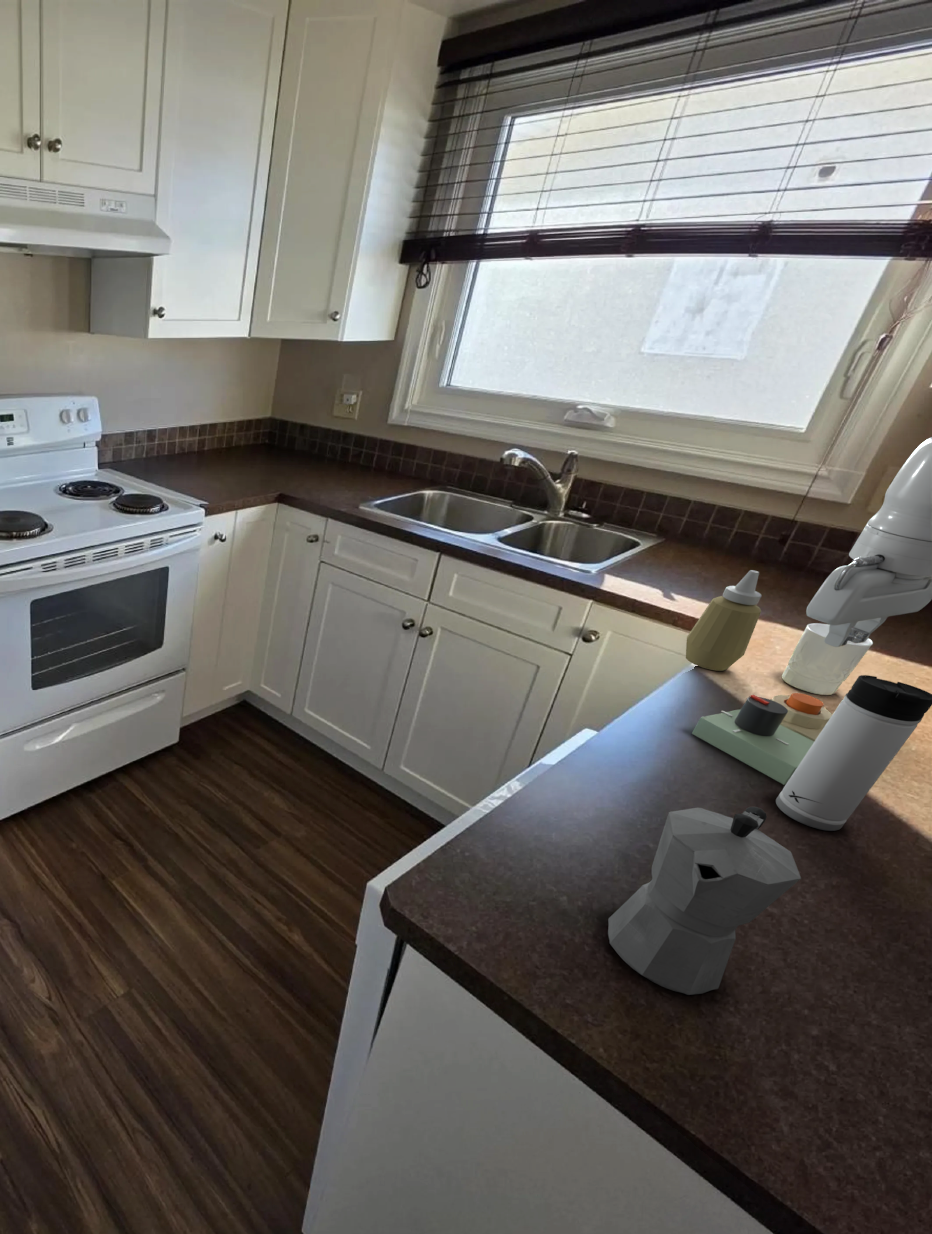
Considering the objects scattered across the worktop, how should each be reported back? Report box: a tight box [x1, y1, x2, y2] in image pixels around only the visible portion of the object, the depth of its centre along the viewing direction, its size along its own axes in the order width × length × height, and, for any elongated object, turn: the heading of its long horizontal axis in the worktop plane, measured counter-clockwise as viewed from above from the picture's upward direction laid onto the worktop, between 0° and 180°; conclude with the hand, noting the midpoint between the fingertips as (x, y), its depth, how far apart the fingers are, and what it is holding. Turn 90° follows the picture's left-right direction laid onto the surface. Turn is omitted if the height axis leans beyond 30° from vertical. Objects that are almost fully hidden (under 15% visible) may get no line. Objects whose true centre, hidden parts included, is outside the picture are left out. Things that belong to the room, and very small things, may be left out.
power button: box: [786, 692, 825, 715], centre depth 102 cm, size 4×4×2 cm
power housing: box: [769, 694, 833, 742], centre depth 102 cm, size 11×9×4 cm
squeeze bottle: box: [685, 569, 762, 672], centre depth 117 cm, size 8×8×18 cm
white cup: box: [781, 622, 874, 696], centre depth 114 cm, size 8×8×10 cm
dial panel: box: [691, 708, 814, 786], centre depth 97 cm, size 12×10×3 cm
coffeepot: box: [607, 806, 802, 996], centre depth 64 cm, size 15×9×18 cm, turn 125°
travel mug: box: [775, 674, 932, 832], centre depth 82 cm, size 6×7×20 cm
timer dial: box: [734, 694, 788, 736], centre depth 97 cm, size 4×4×4 cm
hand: (843, 642), depth 97 cm, fingers open, 3 cm apart
